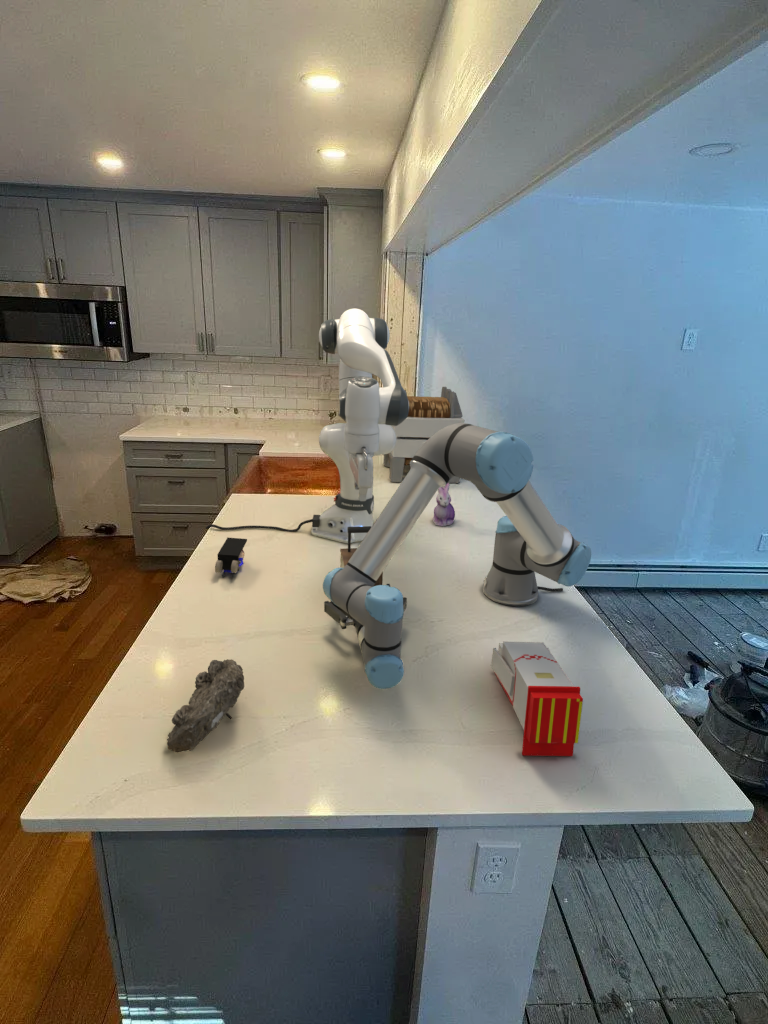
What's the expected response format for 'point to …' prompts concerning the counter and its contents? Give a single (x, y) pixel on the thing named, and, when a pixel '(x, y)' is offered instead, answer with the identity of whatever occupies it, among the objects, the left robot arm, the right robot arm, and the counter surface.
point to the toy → (539, 697)
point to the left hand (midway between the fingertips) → (360, 494)
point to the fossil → (206, 705)
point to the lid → (349, 551)
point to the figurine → (443, 508)
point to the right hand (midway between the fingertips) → (361, 589)
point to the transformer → (421, 429)
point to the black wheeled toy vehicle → (230, 556)
